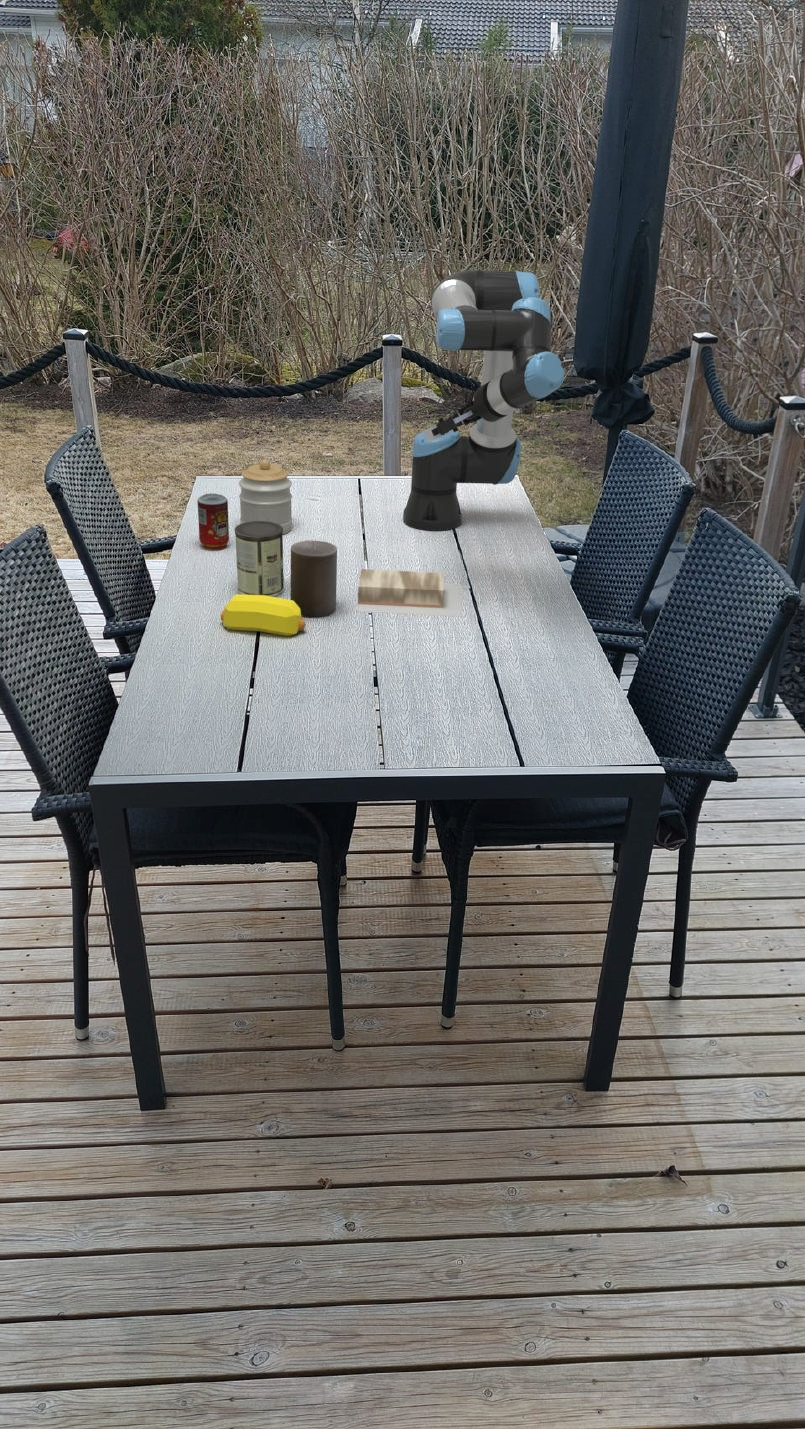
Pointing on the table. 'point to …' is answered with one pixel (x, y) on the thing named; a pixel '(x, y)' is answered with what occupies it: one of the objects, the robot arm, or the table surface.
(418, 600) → the birch board
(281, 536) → the coffee can
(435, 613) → the rubber mat
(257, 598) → the hot dog
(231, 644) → the table surface
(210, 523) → the soda can
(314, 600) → the pillar candle
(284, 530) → the jar
